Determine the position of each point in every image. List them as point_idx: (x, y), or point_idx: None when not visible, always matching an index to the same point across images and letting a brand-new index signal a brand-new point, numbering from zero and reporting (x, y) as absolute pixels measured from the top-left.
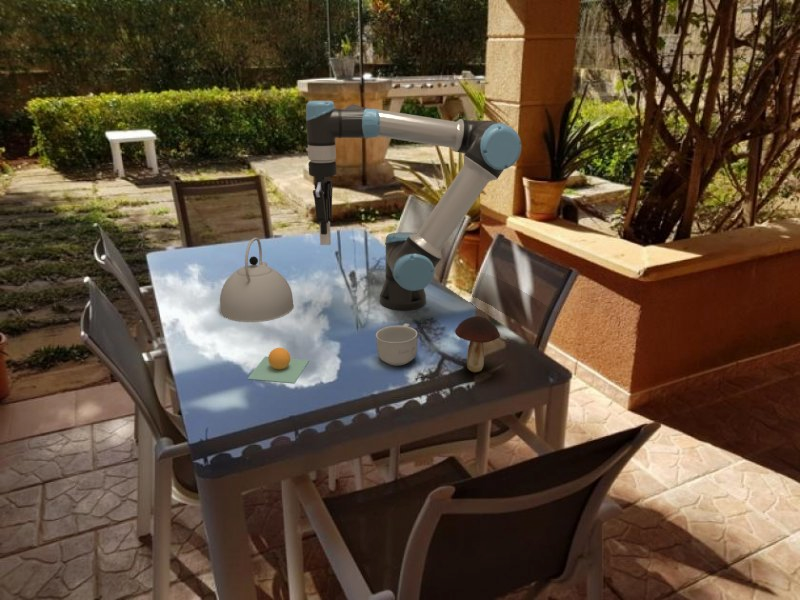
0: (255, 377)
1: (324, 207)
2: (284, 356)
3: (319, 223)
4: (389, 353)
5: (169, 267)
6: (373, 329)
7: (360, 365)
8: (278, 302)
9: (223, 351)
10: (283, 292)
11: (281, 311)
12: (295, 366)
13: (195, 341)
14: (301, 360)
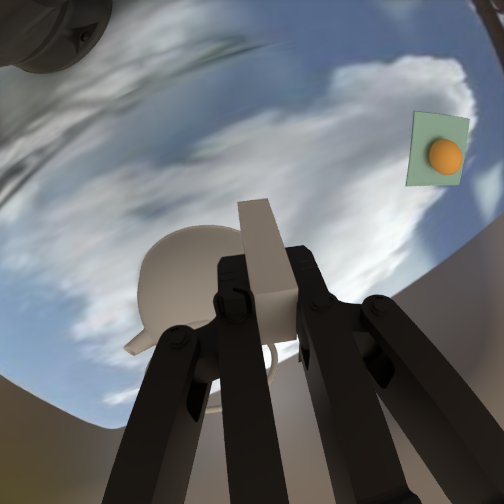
0: (457, 175)
1: (459, 400)
2: (459, 149)
3: (294, 333)
4: None
5: None
6: (248, 12)
7: (414, 22)
8: (240, 252)
9: (387, 250)
10: (216, 261)
11: (235, 236)
12: (433, 128)
13: (356, 297)
14: (416, 123)
